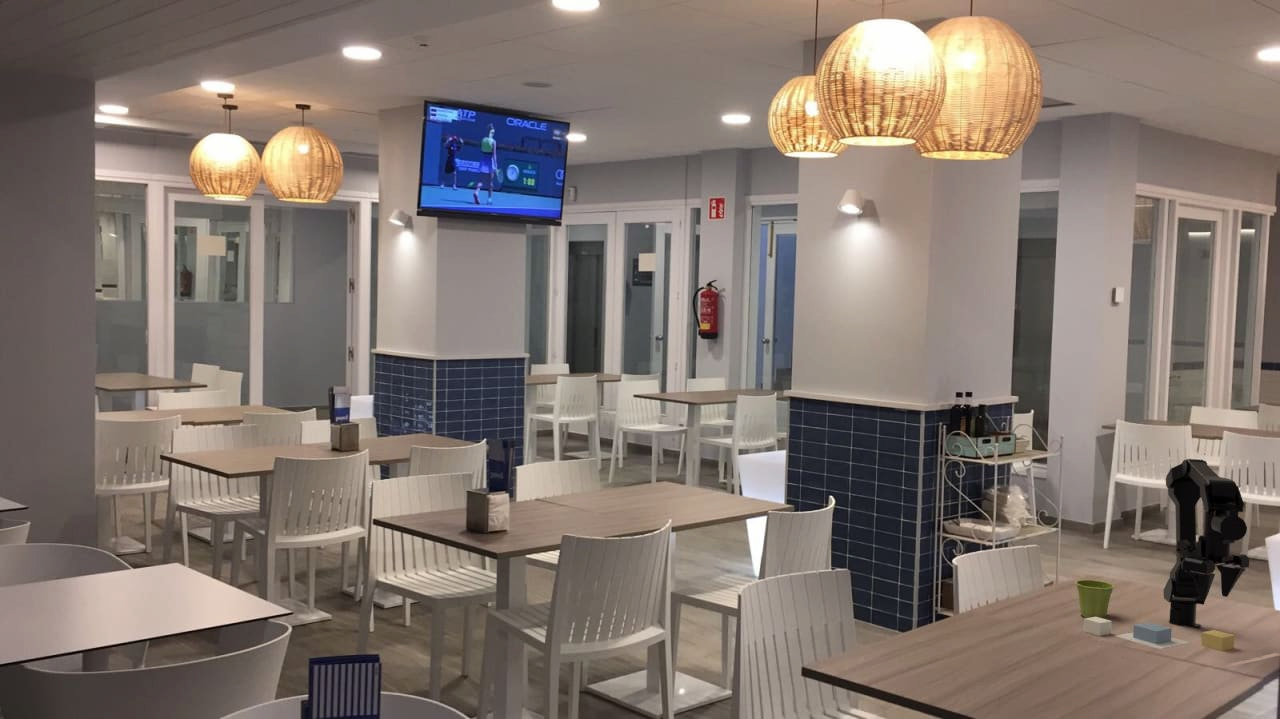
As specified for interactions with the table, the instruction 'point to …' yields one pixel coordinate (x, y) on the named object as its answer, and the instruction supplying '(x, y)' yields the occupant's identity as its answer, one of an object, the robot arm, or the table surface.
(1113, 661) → the table surface
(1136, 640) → the build plate
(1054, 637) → the table surface
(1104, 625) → the brick cream
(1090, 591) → the plant pot
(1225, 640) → the brick ochre
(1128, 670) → the table surface
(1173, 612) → the robot arm
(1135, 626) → the base brick
